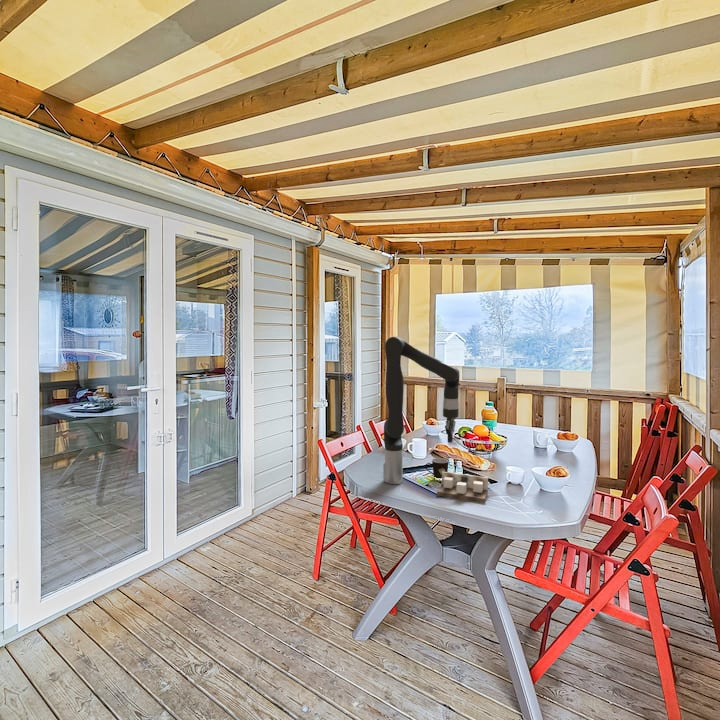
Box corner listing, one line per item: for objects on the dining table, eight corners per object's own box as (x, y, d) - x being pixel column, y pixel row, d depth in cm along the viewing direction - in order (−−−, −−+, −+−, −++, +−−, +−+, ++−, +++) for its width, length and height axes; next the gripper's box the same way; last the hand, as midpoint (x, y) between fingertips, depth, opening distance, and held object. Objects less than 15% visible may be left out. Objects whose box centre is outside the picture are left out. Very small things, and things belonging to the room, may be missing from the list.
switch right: (473, 491, 196) (473, 483, 195) (474, 488, 199) (474, 480, 199) (481, 492, 194) (482, 484, 194) (482, 489, 198) (483, 481, 197)
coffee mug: (449, 477, 222) (449, 459, 221) (446, 482, 214) (446, 463, 213) (428, 474, 226) (428, 456, 226) (424, 479, 218) (424, 461, 218)
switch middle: (456, 492, 194) (456, 484, 194) (457, 489, 198) (458, 481, 198) (465, 494, 193) (465, 485, 192) (466, 491, 196) (466, 482, 196)
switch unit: (436, 495, 197) (437, 479, 196) (442, 487, 208) (442, 471, 207) (484, 503, 188) (485, 485, 188) (487, 493, 199) (488, 477, 199)
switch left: (443, 487, 201) (443, 479, 201) (445, 484, 205) (445, 476, 205) (451, 488, 200) (451, 480, 199) (453, 485, 203) (453, 477, 203)
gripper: (446, 404, 212) (445, 438, 213) (439, 408, 200) (439, 444, 201) (461, 405, 208) (460, 439, 209) (455, 410, 196) (454, 446, 197)
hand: (450, 442), depth 205 cm, fingers closed
